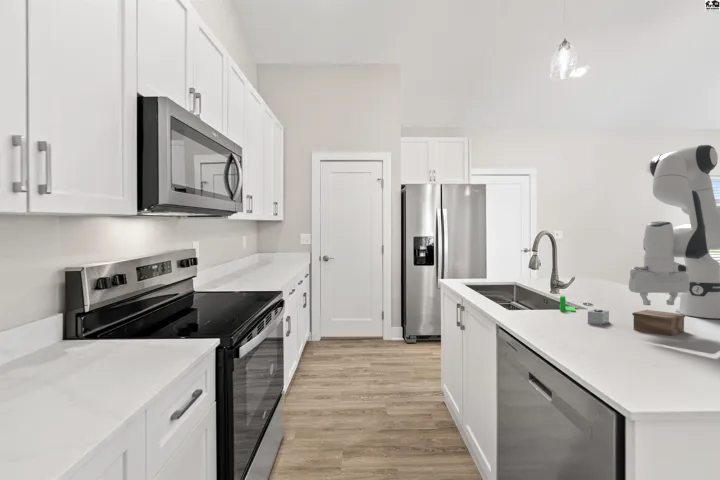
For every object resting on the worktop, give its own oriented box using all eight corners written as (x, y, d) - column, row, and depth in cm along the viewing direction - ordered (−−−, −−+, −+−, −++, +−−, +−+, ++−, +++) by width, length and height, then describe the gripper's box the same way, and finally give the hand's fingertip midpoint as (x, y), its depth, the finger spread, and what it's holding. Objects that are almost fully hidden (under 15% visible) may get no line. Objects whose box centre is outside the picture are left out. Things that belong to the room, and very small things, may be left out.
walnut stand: (646, 325, 154) (646, 309, 154) (685, 331, 144) (685, 314, 144) (632, 329, 148) (632, 312, 148) (671, 335, 138) (671, 318, 138)
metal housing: (594, 321, 162) (594, 308, 162) (608, 323, 158) (608, 309, 158) (587, 324, 157) (587, 310, 156) (602, 326, 153) (602, 312, 153)
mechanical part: (575, 315, 176) (575, 296, 176) (560, 314, 178) (560, 296, 178) (574, 310, 187) (574, 293, 186) (559, 309, 189) (559, 292, 189)
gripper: (637, 267, 142) (637, 306, 142) (693, 267, 143) (693, 306, 143) (624, 266, 148) (624, 303, 149) (678, 265, 149) (678, 303, 150)
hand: (658, 305), depth 146 cm, fingers open, 7 cm apart
